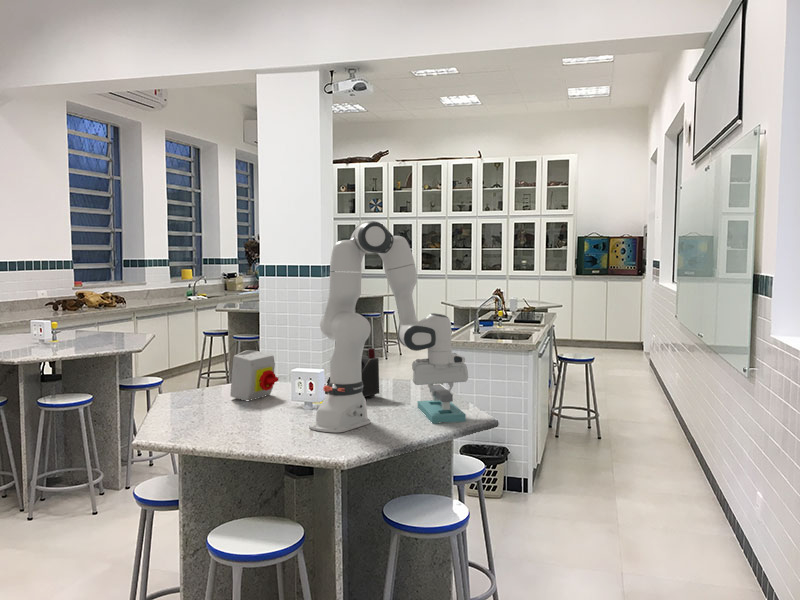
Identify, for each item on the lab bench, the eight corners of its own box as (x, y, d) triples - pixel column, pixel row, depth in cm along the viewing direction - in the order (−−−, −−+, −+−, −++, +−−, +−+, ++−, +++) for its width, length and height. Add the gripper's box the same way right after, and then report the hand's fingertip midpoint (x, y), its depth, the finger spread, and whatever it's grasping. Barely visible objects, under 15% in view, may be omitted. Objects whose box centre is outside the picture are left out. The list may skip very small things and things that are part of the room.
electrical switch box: (256, 408, 256) (260, 360, 254) (229, 399, 264) (233, 352, 261) (280, 401, 269) (284, 355, 266) (254, 392, 276) (258, 347, 274)
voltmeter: (324, 397, 265) (323, 349, 264) (355, 391, 276) (354, 345, 275) (348, 403, 253) (346, 353, 252) (379, 396, 264) (378, 349, 263)
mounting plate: (465, 421, 222) (465, 414, 222) (432, 423, 220) (432, 416, 220) (447, 405, 246) (447, 399, 246) (417, 407, 244) (417, 401, 243)
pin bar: (452, 409, 224) (452, 394, 224) (441, 410, 224) (441, 395, 223) (440, 398, 242) (439, 384, 242) (429, 399, 241) (429, 385, 241)
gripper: (413, 360, 226) (414, 399, 228) (469, 357, 230) (469, 395, 231) (410, 358, 233) (411, 395, 234) (464, 354, 236) (464, 391, 237)
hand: (440, 395), depth 233 cm, fingers closed on pin bar, 4 cm apart
